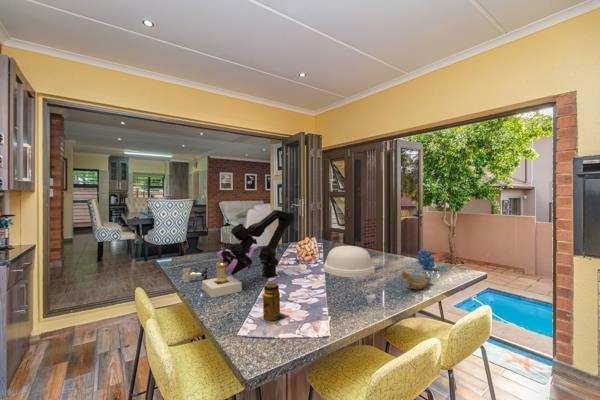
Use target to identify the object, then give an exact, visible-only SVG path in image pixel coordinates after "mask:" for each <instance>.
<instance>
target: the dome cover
mask: <svg viewBox="0 0 600 400" xmlns="http://www.w3.org/2000/svg"><path fill="white" fill-rule="evenodd" d="M323 271H324V272H325V273H326V274H329V275H332V276H337V277H342V278H363V277H365V278H366V277H368V276H372V275H375V274H376V268H375V265H374V264H373V262H372V258H371V255H370V253H369V252H368V251H367V250H366V249H365V248H362V247H360V246H354V245H340V246H336V247H333V248H331V249H330V250H329V252H328V254H327V256H326V260H325V261H324V264H323Z"/></svg>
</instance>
